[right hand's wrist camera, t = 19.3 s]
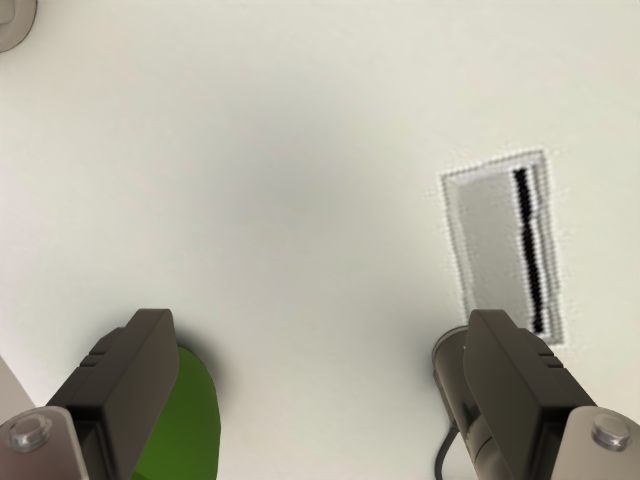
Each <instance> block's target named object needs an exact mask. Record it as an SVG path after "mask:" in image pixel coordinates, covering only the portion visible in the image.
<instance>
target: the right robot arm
mask: <svg viewBox="0 0 640 480" xmlns="http://www.w3.org/2000/svg"><path fill="white" fill-rule="evenodd" d="M432 361H433V365H434V368H435V371H434V373H433V376H434V379H435V381H436V384H437V387H438V389H439V392H440V395H441V397H442V400H443V403H444V405H445V408H446V411H447V413H448V416H449V419H450V421H451V424H452V425H453V426H454V427H453V428H452V430H451V431H450V433H449V435H448V437H447V438H446V440H445V442H444V444H443V446H442V448H441V450H440V452H439V455H438V458H437V461H436V468H435V475H436V480H443V479H442V474H441V470H442V464H443V461H444V458H445V455H446V453H447V451H448V449H449V447H450V445H451V444H452V442H453V440H454V439H455V437H456V435H457V433H458V432H461V435H462V437H463V440H464V443H465V445H466V448H467V450H468V452H469V455H470V458H471V460H472V463H473V465H474V468H475V470H476V473H477V476H478V479H479V480H640V426H639V425H638V424H637V423H635V422H634V421H632V420H631V419H629V418H627V417H626V416H624V415H622V414H619V413H617V412H615V411H612V410H609V409H606V408H602V407H598V406H597V405H596V404H595V402H594V401H593V400H592V399H591V398H590V396H589V395H588V394H587V393H586V392H585V390H584V389H583V388H582V387H581V386H580V384H579V383H578V382H577V381H576V380H575V378H574V377H573V376H572V375H571V374H570V372H569V371H568V370H567V369H566V368H564V367H563V364H562V363H561V362H560V360H559V359H558V358H557V357H556V356H554V353H553V352H552V351H551V350H550V348H549V347H548V346H547V345H546V344H545V342H544V341H543V340H542V339H540V338H539V337H537V336H536V335H534V334H533V333H531V332H530V331H528V330H527V329H525V328H518V327H517V326H516V325H515V324H514V322H513V321H512V320H511V318H510V317H509V316H508V315H507V313H506V312H505V311H504V310H473V311H472V312H471V314H470V318H469V325H468V326H465V327H460V328H457V329H454V330H452V331H450V332H448V333H447V334H445V335H444V336H443V337H442V338H441V339H440V340H439V341H438V343H437V344H436V346H435V348H434V351H433V355H432ZM178 368H179V357H178V350H177V343H176V336H175V329H174V322H173V316H172V313H171V311H170V310H169V309H139V310H138V311H137V312H136V313H135V314H134V316H133V317H132V318H131V320H130V321H129V322H128V324H127V325H126V326H125V328H116V329H115V330H113V331H112V332H110V333H109V334H107V335H106V336H104V337H103V338H101V339H100V340H99V341H98V342H97V344H96V345H95V346H94V347H93V348H92V350H91V351H90V352H89V355H87V356H86V357H85V358H84V359H83V361H82V362H81V363H80V366H79V367H77V368H76V369H75V370H74V372H73V373H72V374H71V375H70V376H69V378H68V379H67V380H66V381H65V382H64V384H63V385H62V386H61V387H60V388H59V390H58V391H57V392H56V393H55V395H54V396H53V397H52V398H51V399H50V401H49V402H48V403H47V404H46V405H45V406H44V407H38V408H34V409H31V410H28V411H25V412H23V413H21V414H19V415H17V416H14V417H13V418H11V419H9V420H8V421H6V422H5V423H3V424H2V425H1V426H0V480H130V478H131V476H132V473H133V471H134V469H135V467H136V465H137V463H138V461H139V458H140V456H141V454H142V452H143V450H144V448H145V446H146V443H147V441H148V439H149V437H150V435H151V433H152V431H153V429H154V426H155V424H156V422H157V420H158V418H159V416H160V414H161V411H162V409H163V407H164V405H165V403H166V401H167V399H168V396H169V394H170V392H171V390H172V388H173V386H174V384H175V381H176V378H177V375H178Z"/></svg>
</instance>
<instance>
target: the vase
mask: <svg viewBox="0 0 640 480" xmlns="http://www.w3.org/2000/svg"><path fill="white" fill-rule="evenodd" d="M177 350H178V357H179V368H178V375H177V378H176V381H175V384H174V386H173V388H172V390H171V392H170V394H169V396H168V399H167V401H166V403H165V405H164V407H163V409H162V411H161V414H160V416H159V418H158V420H157V422H156V424H155V426H154V429H153V431H152V433H151V435H150V437H149V439H148V441H147V443H146V446H145V448H144V450H143V452H142V454H141V456H140V458H139V461H138V463H137V465H136V467H135V469H134V471H133V473H132V476H131V478H130V480H216V478H217V471H218V458H219V446H220V433H221V423H220V414H219V408H218V402H217V396H216V390H215V387H214V384H213V381H212V379H211V377H210V375H209V373H208V371H207V369H206V368H205V366H204V364H203V363H202V361H201V360H200V359H199V358H198V357H197V356H196V355H194V354H193V353H192V352H190V351H189V350H187V349H185V348H183V347H180V346H177Z"/></svg>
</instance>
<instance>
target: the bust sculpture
mask: <svg viewBox="0 0 640 480" xmlns="http://www.w3.org/2000/svg"><path fill="white" fill-rule="evenodd" d="M35 10H36V0H0V52H3V51H6V50H9V49H11V48H13V47H14V46H16V45H17V44H18V43H19V42H21V41H22V40H23V38H24V37H25V36H26V35H27V33H28V31H29V30H30V28H31V25H32V23H33V20H34V16H35Z"/></svg>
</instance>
